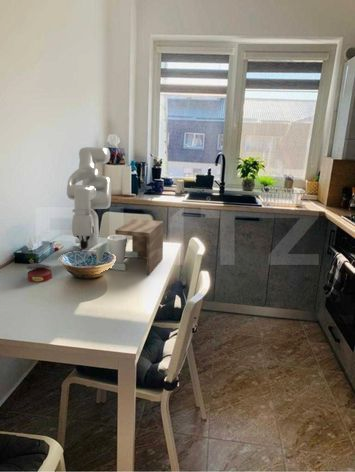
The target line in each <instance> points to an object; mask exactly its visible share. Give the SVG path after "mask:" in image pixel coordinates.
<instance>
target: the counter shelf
mask: <svg viewBox="0 0 355 472" xmlns="http://www.w3.org/2000/svg"><path fill="white" fill-rule="evenodd" d="M114 232H115V235H122V236H131V240H132V242H131V243H132V245H131V246H132V247H131V249H132V250H131V251H134V252H138V258H139V259H146V275H147V276H150V275H151V274H152V273H153V271H155V269H156V268H157V267H158V265H159V264H160V263H161V262H162V260H163V259H164V258H163V255H164V254H163V253H164V252H163V251H164V250H163V249H164V248H163V247H164V221H163V220H149V219H138V218H137V219H136V218H132V219H130V221H127V222H126V223H124V224H123V225H121V226H120V227H118V228H116V229H115V231H114Z"/></svg>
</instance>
